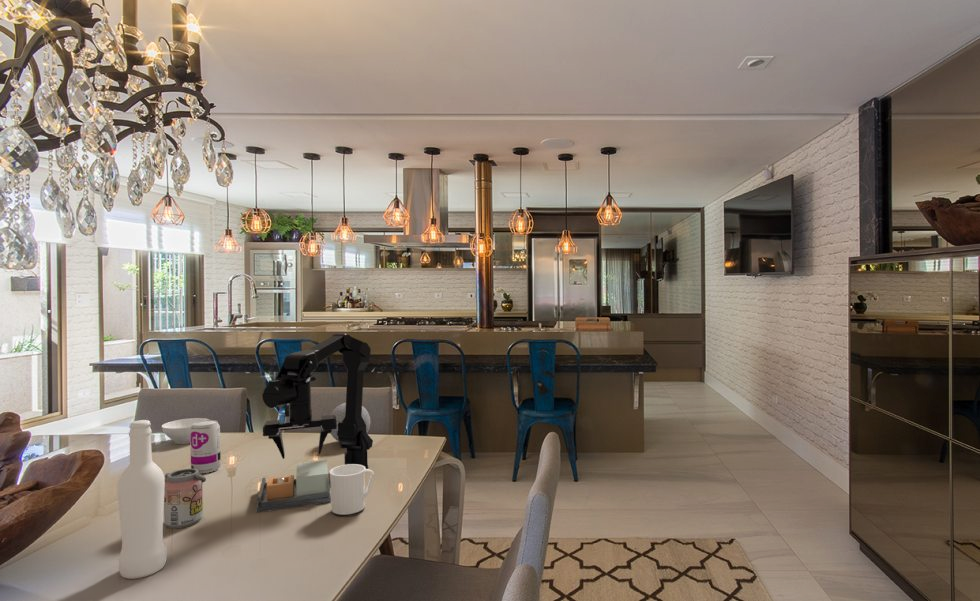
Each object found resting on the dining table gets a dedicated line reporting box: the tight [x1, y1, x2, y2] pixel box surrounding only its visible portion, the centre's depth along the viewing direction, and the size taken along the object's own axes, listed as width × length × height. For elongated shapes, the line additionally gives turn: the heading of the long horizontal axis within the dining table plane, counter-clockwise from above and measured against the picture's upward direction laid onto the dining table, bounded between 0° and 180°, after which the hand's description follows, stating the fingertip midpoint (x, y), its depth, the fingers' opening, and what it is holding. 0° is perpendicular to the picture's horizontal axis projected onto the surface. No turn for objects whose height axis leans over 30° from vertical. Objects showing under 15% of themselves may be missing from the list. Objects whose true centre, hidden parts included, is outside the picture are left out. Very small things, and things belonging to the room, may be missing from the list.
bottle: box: [116, 419, 168, 580], centre depth 105 cm, size 8×8×30 cm
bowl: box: [161, 417, 210, 445], centre depth 198 cm, size 16×16×7 cm
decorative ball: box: [330, 402, 371, 442], centre depth 193 cm, size 15×15×15 cm
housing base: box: [256, 477, 332, 513], centre depth 143 cm, size 18×16×5 cm
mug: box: [328, 464, 375, 518], centre depth 133 cm, size 11×9×10 cm
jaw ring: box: [266, 474, 295, 499], centre depth 142 cm, size 7×7×4 cm
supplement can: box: [189, 419, 222, 475], centre depth 165 cm, size 8×8×15 cm
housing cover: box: [295, 459, 329, 496], centre depth 144 cm, size 8×12×6 cm, turn 19°
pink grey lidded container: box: [163, 468, 207, 529], centre depth 128 cm, size 9×8×12 cm
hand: (301, 456), depth 143 cm, fingers open, 9 cm apart
